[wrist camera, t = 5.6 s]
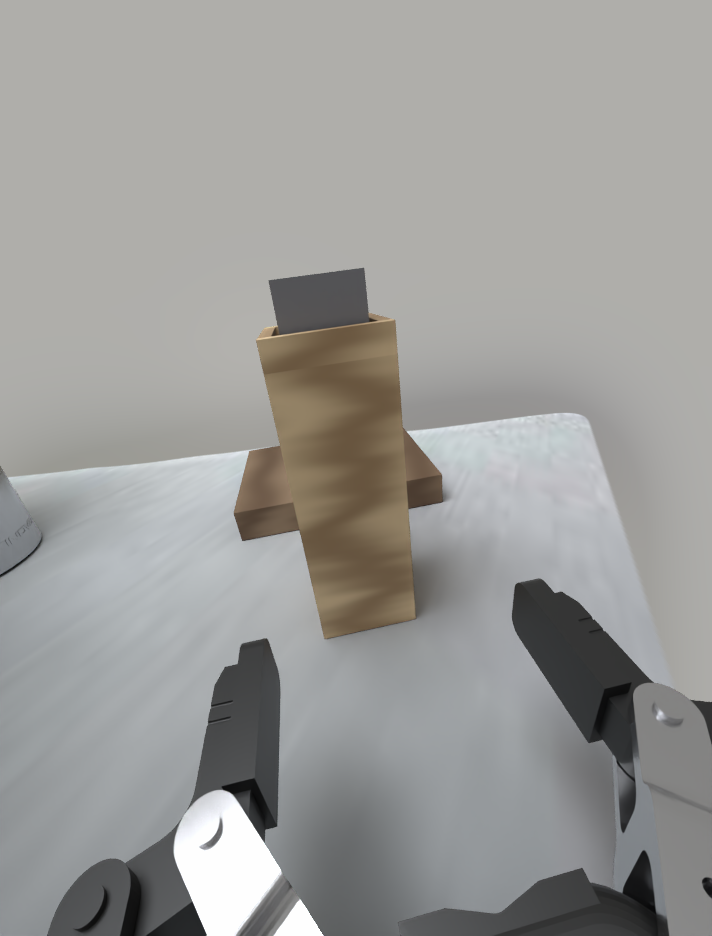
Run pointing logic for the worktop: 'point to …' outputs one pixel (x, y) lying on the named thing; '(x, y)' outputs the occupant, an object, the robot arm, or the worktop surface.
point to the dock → (271, 502)
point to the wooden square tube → (345, 467)
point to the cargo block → (320, 301)
